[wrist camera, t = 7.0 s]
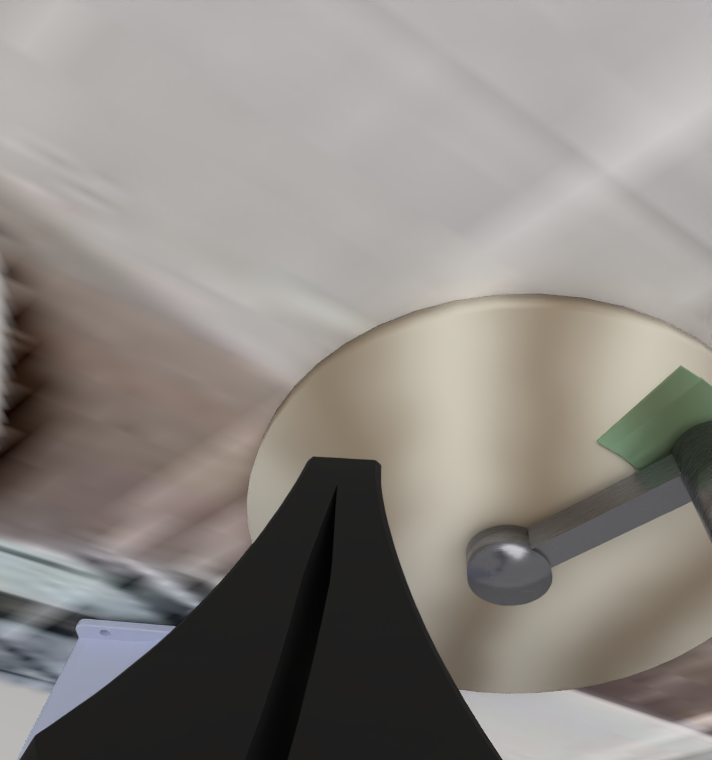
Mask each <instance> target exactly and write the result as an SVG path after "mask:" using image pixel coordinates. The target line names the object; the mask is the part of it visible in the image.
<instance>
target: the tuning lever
mask: <svg viewBox="0 0 712 760" xmlns="http://www.w3.org/2000/svg"><path fill="white" fill-rule="evenodd" d="M690 502H692V503H693V505H694V507H695V509H696V511H697V513H698V516H699V518H700V520H701V522H702V524H703V526H704V529H705V531H706V533H707V535H708V537H709V539H710V541H711V544H712V421H707V422H703V423H701V424H698V425H696V426H694V427H692V428H690V429H688V430H687V431H686V432H684V433H683V434H682V435H681V436H680V437H679V438H678V440H677V441H676V443H675V445H674V447H673V451H672V454H671V455H669V456H667V457H665V458H664V459H662V460H660V461H658V462H656V463H654V464H652V465H650V466H648V467H646V468H644V469H642V470H640V471H638V472H636V473H634V474H632V475H630V476H629V477H627V478H625V479H623V480H621V481H619V482H617V483H615V484H613V485H611V486H609V487H607V488H605V489H603V490H601V491H599V492H597V493H595V494H594V495H592V496H590V497H588V498H586V499H584V500H582V501H580V502H578V503H576V504H574V505H572V506H570V507H568V508H566V509H564V510H562V511H560V512H559V513H557V514H555V515H553V516H551V517H549V518H547V519H545V520H543V521H541V522H539V523H537V524H535V525H533V526H531V527H529V528H525V527H522V526H517V525H498V526H493V527H489V528H487V529H484V530H482V531H480V532H479V533H477V534H476V535H475V536H474V537H473V538H472V539H471V540H470V541H469V543H468V545H467V548H466V565H467V581H468V585H469V587H470V589H471V590H472V592H473V593H474V594H475V595H477V596H478V597H479V598H481V599H483V600H485V601H487V602H489V603H492V604H497V605H503V606H516V605H523V604H527V603H530V602H532V601H535V600H537V599H539V598H540V597H542V596H543V595H544V594H545V593H546V592H547V591H548V590H549V588H550V586H551V584H552V579H553V578H552V571H551V568H552V567H554V566H557V565H559V564H561V563H563V562H565V561H567V560H569V559H571V558H573V557H576V556H578V555H580V554H582V553H584V552H586V551H588V550H590V549H592V548H595V547H597V546H599V545H601V544H603V543H605V542H607V541H609V540H612V539H614V538H616V537H618V536H620V535H622V534H624V533H626V532H628V531H631V530H633V529H635V528H637V527H639V526H641V525H643V524H645V523H647V522H650V521H652V520H654V519H656V518H658V517H660V516H662V515H664V514H666V513H669V512H671V511H673V510H675V509H677V508H679V507H681V506H683V505H685V504H688V503H690Z"/></svg>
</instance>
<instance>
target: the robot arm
mask: <svg viewBox="0 0 712 760" xmlns="http://www.w3.org/2000/svg"><path fill="white" fill-rule="evenodd" d="M76 631H77V634H78V636H79V639H78V641H77V643H76V645H75V647H74V649H73V651H72V652H71V654H70V656H69V658H68V660H67V662H66V664H65V666H64V668H63V670H62V672H61V674H60V676H59V678H58V680H57V682H56V684H55V686H54V688H53V690H52V691H51V693H50V695H49V697H48V699H47V701H46V703H45V705H44V707H43V709H42V711H41V713H40V715H39V717H38V719H37V721H36V723H35V725H34V727H33V729H32V731H31V732H30V734H29V737H28V738H27V740H26V742H25V744H24V746H23V748H22V750H21V752H20V755H19V757H18V759H17V760H503V759H502V758H501V757H500V755H499V754H498V752H497V751H496V749H495V748H494V746H493V745H492V743H491V742H490V740H489V739H488V737H487V736H486V734H485V733H484V731H483V729H482V728H481V726H480V725H479V723H478V721H477V720H476V718H475V716H474V715H473V713H472V712H471V710H470V708H469V707H468V705H467V704H466V702H465V700H464V699H463V697H462V695H461V693H460V691H459V689H458V688H457V686H456V684H455V682H454V680H453V679H452V677H451V675H450V673H449V671H448V670H447V668H446V666H445V664H444V662H443V661H442V659H441V657H440V655H439V653H438V651H437V649H436V647H435V645H434V643H433V641H432V639H431V637H430V635H429V633H428V631H427V629H426V626H425V624H424V622H423V620H422V617H421V615H420V613H419V611H418V608H417V606H416V604H415V601H414V599H413V596H412V594H411V591H410V589H409V586H408V584H407V581H406V578H405V575H404V573H403V570H402V567H401V564H400V561H399V558H398V555H397V552H396V549H395V545H394V542H393V538H392V535H391V531H390V528H389V524H388V520H387V516H386V511H385V506H384V501H383V495H382V487H381V464H380V463H379V462H377V461H376V460H368V459H350V458H333V457H316V456H313V457H312V458H310V459H309V460H308V461H307V463H306V465H305V467H304V469H303V470H302V472H301V474H300V476H299V477H298V479H297V481H296V482H295V484H294V486H293V487H292V489H291V490H290V492H289V493H288V495H287V496H286V498H285V500H284V501H283V503H282V504H281V506H280V507H279V508H278V510H277V511H276V513H275V514H274V515H273V517H272V518H271V520H270V521H269V522H268V524H267V525H266V527H265V528H264V529H263V531H262V532H261V533H260V535H259V536H258V537H257V539H256V540H255V541H254V542H253V544H252V545H251V546H250V547H249V549H248V550H247V551H246V552H245V554H244V555H243V556H242V557H241V558H240V560H239V561H238V562H237V563H236V565H235V566H234V567H233V568H232V569H231V570H230V572H229V573H228V574H227V575H226V576H225V577H224V578H223V580H222V581H221V582H220V583H219V584H218V585H217V586H216V587H215V588H214V589H213V590H212V591H211V592H210V594H209V595H208V596H207V597H206V598H205V599H204V600H203V601H202V602H201V603H200V604H199V605H198V606H197V607H196V608H195V609H194V610H193V611H192V612H191V613H190V614H189V615H188V616H187V617H185V618H184V619H183V620H182V621H181V622H180V623H179V624H178V625H177V626H169V625H157V624H145V623H133V622H120V621H108V620H96V619H82V620H80V621H79V622H78V624H77V626H76Z"/></svg>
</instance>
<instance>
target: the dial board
mask: <svg viewBox="0 0 712 760" xmlns="http://www.w3.org/2000/svg"><path fill="white" fill-rule="evenodd" d="M707 421H712V349H711V348H709V347H708V346H707V345H705V344H704V343H702V342H701V341H700V340H698V339H697V338H695V337H693V336H691V335H689V334H687V333H686V332H684V331H682V330H680V329H678V328H676V327H674V326H672V325H670V324H668V323H666V322H664V321H662V320H660V319H657V318H654V317H651V316H648V315H646V314H643V313H640V312H637V311H634V310H632V309H629V308H626V307H623V306H618V305H613V304H609V303H604V302H600V301H595V300H590V299H586V298H579V297H568V296H558V295H547V294H513V295H493V296H485V297H478V298H471V299H464V300H457V301H452V302H448V303H444V304H441V305H437V306H433V307H429V308H425V309H421V310H417V311H414V312H412V313H409V314H406V315H404V316H401V317H399V318H396V319H394V320H391V321H389V322H386V323H384V324H381V325H378V326H377V327H375V328H373V329H371V330H369V331H367V332H366V333H364V334H362V335H360V336H358V337H356V338H355V339H353V340H351V341H349V342H347V343H346V344H344V345H343V346H341V347H340V348H339V349H337V350H336V351H335V352H333V353H332V354H330V355H329V356H328V357H326V358H325V359H324V360H322V361H321V362H320V363H318V364H317V365H316V366H315V367H314V368H313V369H312V370H311V371H310V372H309V373H308V374H307V375H306V376H305V377H304V378H303V379H302V380H301V381H300V382H299V383H298V384H297V385H296V386H295V387H294V388H293V389H292V391H291V392H290V393H289V395H288V396H287V397H286V399H285V400H284V401H283V403H282V404H281V405H280V407H279V408H278V409H277V411H276V413H275V415H274V416H273V418H272V420H271V422H270V424H269V426H268V428H267V430H266V432H265V434H264V436H263V439H262V442H261V445H260V447H259V450H258V453H257V456H256V460H255V463H254V466H253V469H252V472H251V475H250V480H249V488H248V496H247V516H248V528H249V532H250V536H251V541H252V544H253V542H254V541H255V540H256V539H257V537H258V536H259V535H260V533H261V532H262V531H263V529H264V528H265V527H266V525H267V524H268V522H269V521H270V520H271V518H272V517H273V515H274V514H275V513H276V511H277V510H278V508H279V507H280V506H281V504H282V503H283V501H284V500H285V498H286V496H287V495H288V493H289V492H290V490H291V489H292V487H293V486H294V484H295V482H296V481H297V479H298V477H299V476H300V474H301V472H302V470H303V469H304V467H305V465H306V463H307V461H308V460H309V459H310V458H312V457H313V456H316V457H333V458H350V459H368V460H376V461H377V462H379V463H380V464H381V487H382V495H383V501H384V506H385V511H386V516H387V520H388V524H389V528H390V531H391V535H392V538H393V542H394V545H395V549H396V552H397V555H398V558H399V561H400V564H401V567H402V570H403V573H404V575H405V578H406V581H407V584H408V586H409V589H410V591H411V594H412V596H413V599H414V601H415V604H416V606H417V608H418V611H419V613H420V615H421V617H422V620H423V622H424V624H425V626H426V629H427V631H428V633H429V635H430V637H431V639H432V641H433V643H434V645H435V647H436V649H437V651H438V653H439V655H440V657H441V659H442V661H443V662H444V664H445V666H446V668H447V670H448V671H449V673H450V675H451V677H452V679H453V680H454V682H455V684H456V686H457V688H458V689H460V690H468V691H476V692H489V693H541V692H551V691H562V690H570V689H575V688H581V687H587V686H593V685H598V684H602V683H605V682H609V681H613V680H617V679H621V678H625V677H628V676H631V675H634V674H636V673H639V672H642V671H645V670H648V669H651V668H653V667H656V666H658V665H660V664H662V663H665V662H667V661H669V660H671V659H674V658H676V657H678V656H680V655H682V654H684V653H685V652H687V651H689V650H691V649H692V648H694V647H696V646H698V645H700V644H701V643H703V642H705V641H706V640H708V639H709V638H710V637H712V544H711V541H710V539H709V537H708V535H707V533H706V531H705V529H704V526H703V524H702V522H701V520H700V518H699V516H698V513H697V511H696V509H695V507H694V505H693V503H692V502H690V503H688V504H685V505H683V506H681V507H679V508H677V509H675V510H673V511H671V512H669V513H666V514H664V515H662V516H660V517H658V518H656V519H654V520H652V521H650V522H647V523H645V524H643V525H641V526H639V527H637V528H635V529H633V530H631V531H628V532H626V533H624V534H622V535H620V536H618V537H616V538H614V539H612V540H609V541H607V542H605V543H603V544H601V545H599V546H597V547H595V548H592V549H590V550H588V551H586V552H584V553H582V554H580V555H578V556H576V557H573V558H571V559H569V560H567V561H565V562H563V563H561V564H559V565H557V566H554V567H552V568H551V571H552V578H553V579H552V584H551V586H550V588H549V590H548V591H547V592H546V593H545V594H544V595H543V596H542V597H540V598H539V599H537V600H535V601H532V602H530V603H527V604H523V605H516V606H503V605H497V604H492V603H489V602H487V601H485V600H483V599H481V598H479V597H478V596H477V595H475V594H474V593H473V592H472V590H471V589H470V587H469V585H468V581H467V565H466V548H467V545H468V543H469V541H470V540H471V539H472V538H473V537H474V536H475V535H476V534H477V533H479V532H480V531H482V530H484V529H487V528H489V527H493V526H498V525H517V526H522V527H525V528H529V527H531V526H533V525H535V524H537V523H539V522H541V521H543V520H545V519H547V518H549V517H551V516H553V515H555V514H557V513H559V512H560V511H562V510H564V509H566V508H568V507H570V506H572V505H574V504H576V503H578V502H580V501H582V500H584V499H586V498H588V497H590V496H592V495H594V494H595V493H597V492H599V491H601V490H603V489H605V488H607V487H609V486H611V485H613V484H615V483H617V482H619V481H621V480H623V479H625V478H627V477H629V476H630V475H632V474H634V473H636V472H638V471H640V470H642V469H644V468H646V467H648V466H650V465H652V464H654V463H656V462H658V461H660V460H662V459H664V458H665V457H667V456H669V455H671V454H672V451H673V447H674V445H675V443H676V441H677V440H678V438H679V437H680V436H681V435H682V434H683V433H684V432H686V431H687V430H688V429H690V428H692V427H694V426H696V425H698V424H701V423H703V422H707Z"/></svg>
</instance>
